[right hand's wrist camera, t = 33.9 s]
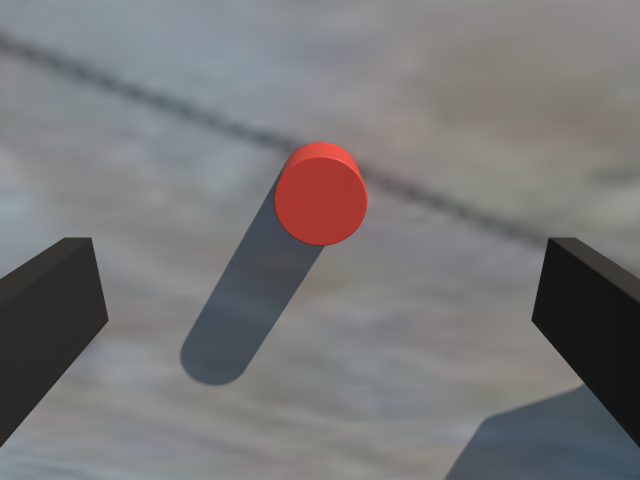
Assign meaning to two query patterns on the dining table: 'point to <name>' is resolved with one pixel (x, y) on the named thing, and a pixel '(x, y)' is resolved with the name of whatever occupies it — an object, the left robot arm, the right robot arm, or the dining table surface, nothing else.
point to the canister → (320, 195)
